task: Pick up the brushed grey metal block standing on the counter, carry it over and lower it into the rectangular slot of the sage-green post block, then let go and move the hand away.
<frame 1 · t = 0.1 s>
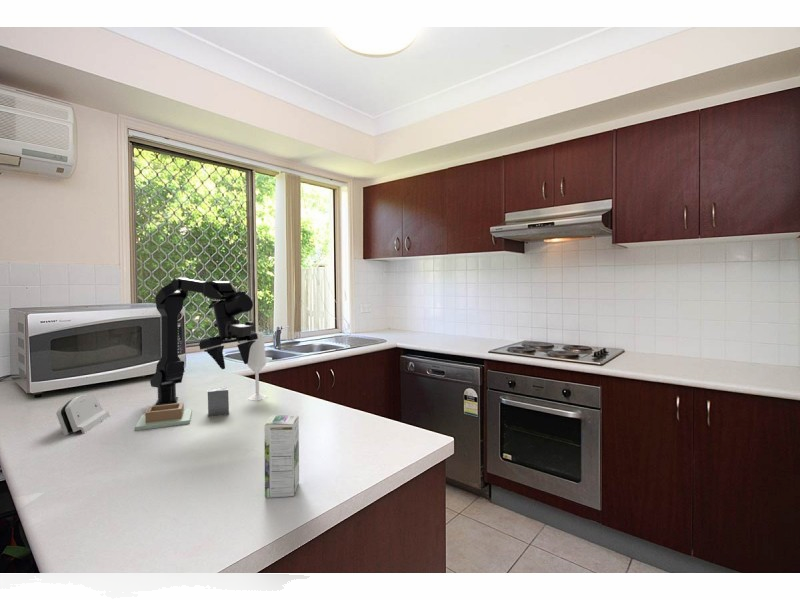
hand: (235, 366, 132), 15 cm above the countertop, tool pointing down, fingers open, 9 cm apart
post socket: (165, 420, 128), on the countertop
syrup box: (283, 491, 83), on the countertop
brushed grey metal block: (218, 414, 134), on the countertop
hinge: (83, 426, 124), on the countertop
champagne flute: (257, 398, 152), on the countertop
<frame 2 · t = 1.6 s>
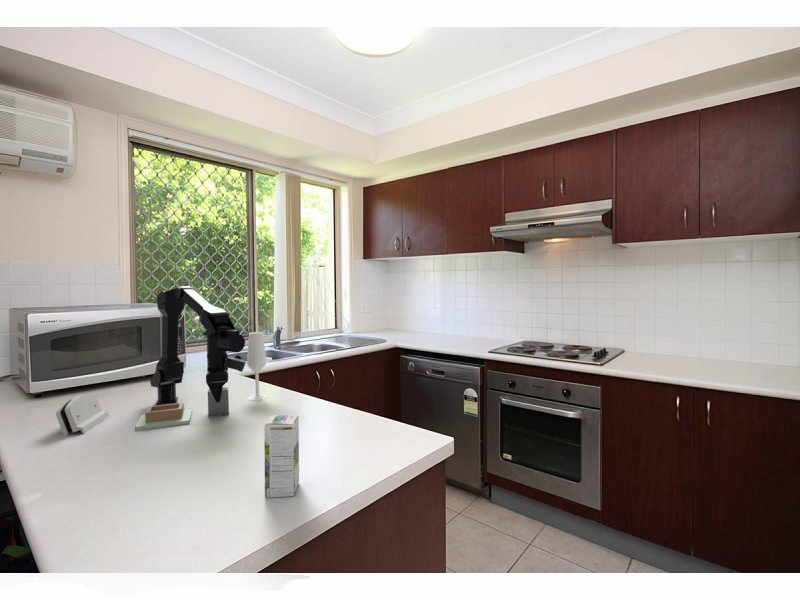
hand: (218, 398, 133), 5 cm above the countertop, tool pointing down, fingers open, 9 cm apart
nothing on the countertop moved.
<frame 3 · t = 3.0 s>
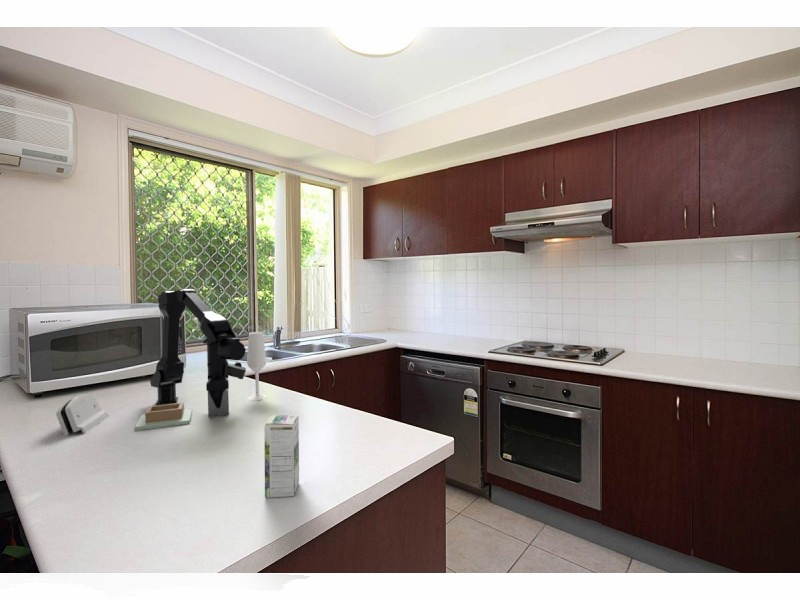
hand: (218, 406, 133), 3 cm above the countertop, tool pointing down, fingers closed on brushed grey metal block, 4 cm apart
brushed grey metal block: (218, 413, 134), on the countertop, touching gripper
everything else where it was.
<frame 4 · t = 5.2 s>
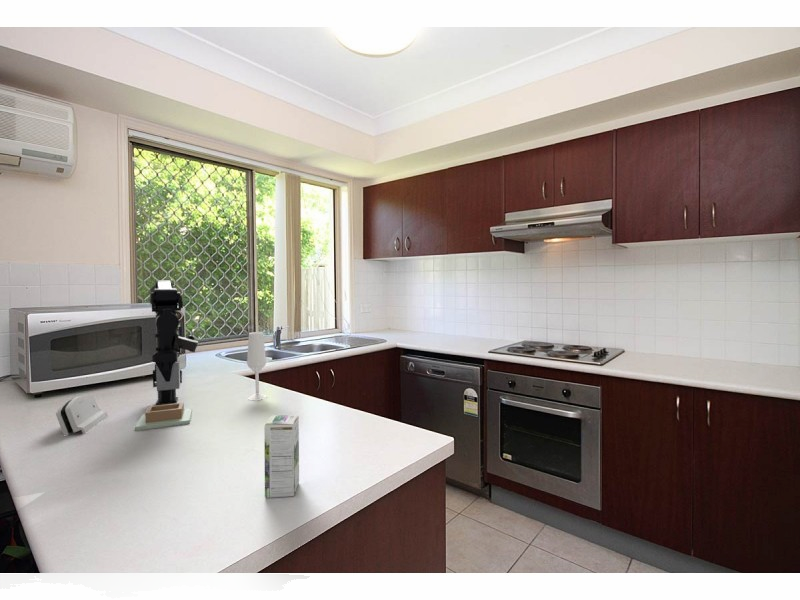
hand: (168, 380, 128), 12 cm above the countertop, tool pointing down, fingers closed on brushed grey metal block, 4 cm apart
brushed grey metal block: (168, 388, 128), point 10 cm above the countertop, touching gripper
everything else where it was.
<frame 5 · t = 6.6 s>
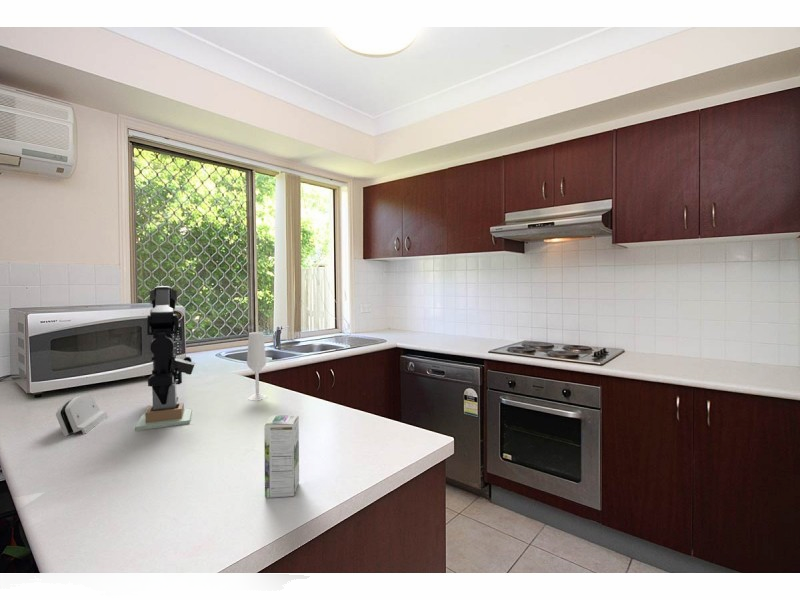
hand: (165, 402, 127), 6 cm above the countertop, tool pointing down, fingers closed on brushed grey metal block, 4 cm apart
brushed grey metal block: (165, 410, 128), point 3 cm above the countertop, touching gripper
everything else where it was.
when the fingers open (5 cm above the countertop, at t = 7.6 s): brushed grey metal block drops 2 cm, resting on post socket.
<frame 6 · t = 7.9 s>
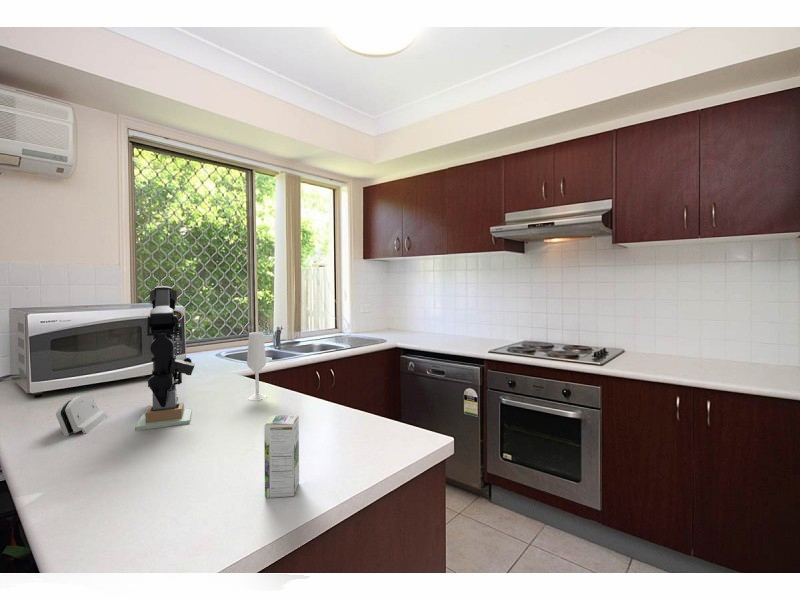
hand: (165, 403, 127), 5 cm above the countertop, tool pointing down, fingers open, 8 cm apart
brushed grey metal block: (165, 417, 128), point 1 cm above the countertop, touching post socket
everything else where it was.
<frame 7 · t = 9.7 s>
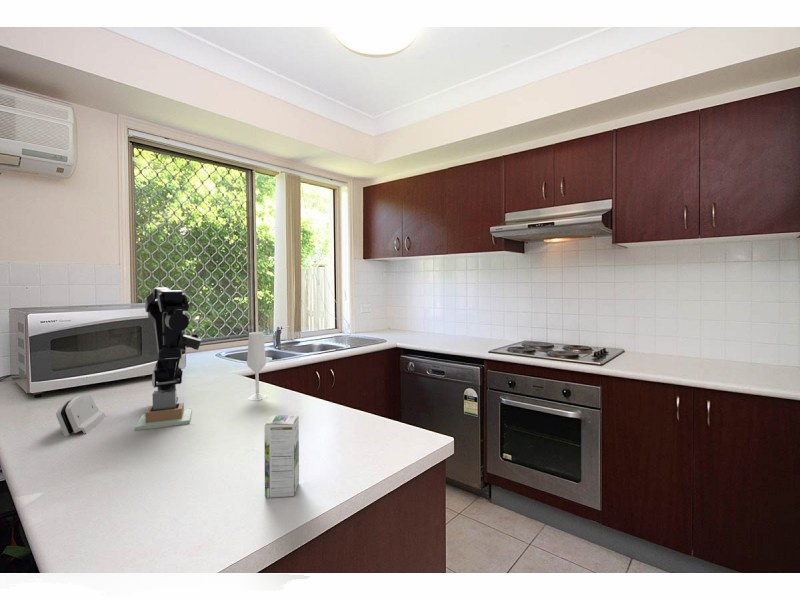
hand: (173, 375, 137), 12 cm above the countertop, tool pointing down, fingers open, 9 cm apart
nothing on the countertop moved.
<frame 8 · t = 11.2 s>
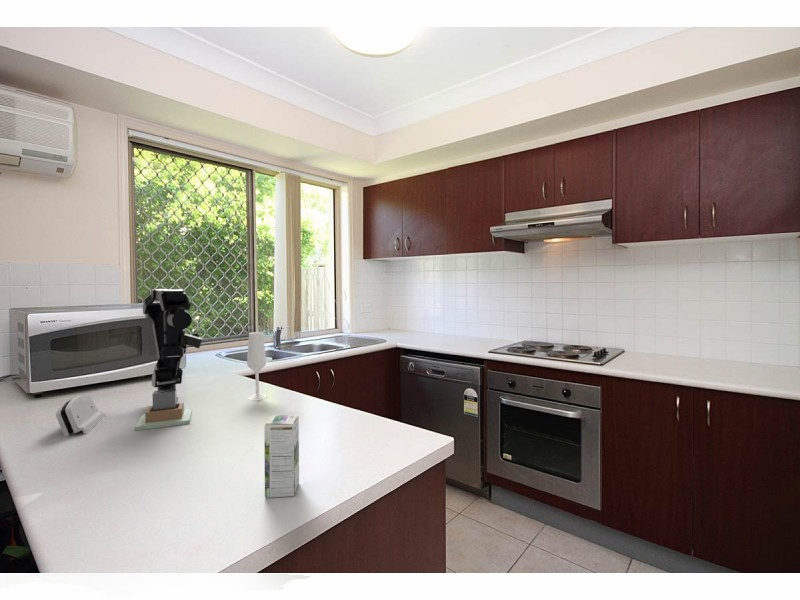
hand: (175, 373, 138), 12 cm above the countertop, tool pointing down, fingers open, 9 cm apart
at the end: brushed grey metal block 0.1 cm off-centre on the post socket, point 1.0 cm above the post socket's base; brushed grey metal block tilted 0°; the gripper is holding nothing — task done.
